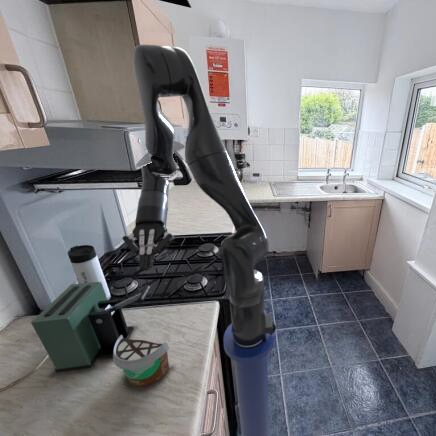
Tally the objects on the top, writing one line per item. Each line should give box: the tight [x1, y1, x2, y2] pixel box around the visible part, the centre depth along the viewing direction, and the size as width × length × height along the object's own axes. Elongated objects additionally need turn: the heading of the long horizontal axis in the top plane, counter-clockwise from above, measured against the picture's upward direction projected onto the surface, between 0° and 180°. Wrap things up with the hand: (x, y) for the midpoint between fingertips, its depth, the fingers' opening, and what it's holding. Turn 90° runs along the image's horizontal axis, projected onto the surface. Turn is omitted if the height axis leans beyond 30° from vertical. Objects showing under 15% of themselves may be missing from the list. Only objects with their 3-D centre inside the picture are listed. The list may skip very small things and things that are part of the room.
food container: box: [112, 335, 170, 389], centre depth 53 cm, size 12×6×10 cm, turn 82°
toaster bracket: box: [88, 298, 135, 360], centre depth 61 cm, size 5×9×13 cm, turn 10°
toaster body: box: [30, 282, 107, 373], centre depth 60 cm, size 7×13×16 cm, turn 10°
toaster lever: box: [97, 285, 151, 315], centre depth 60 cm, size 13×5×2 cm, turn 99°
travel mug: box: [67, 244, 112, 300], centre depth 75 cm, size 6×7×20 cm
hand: (145, 269), depth 61 cm, fingers closed
